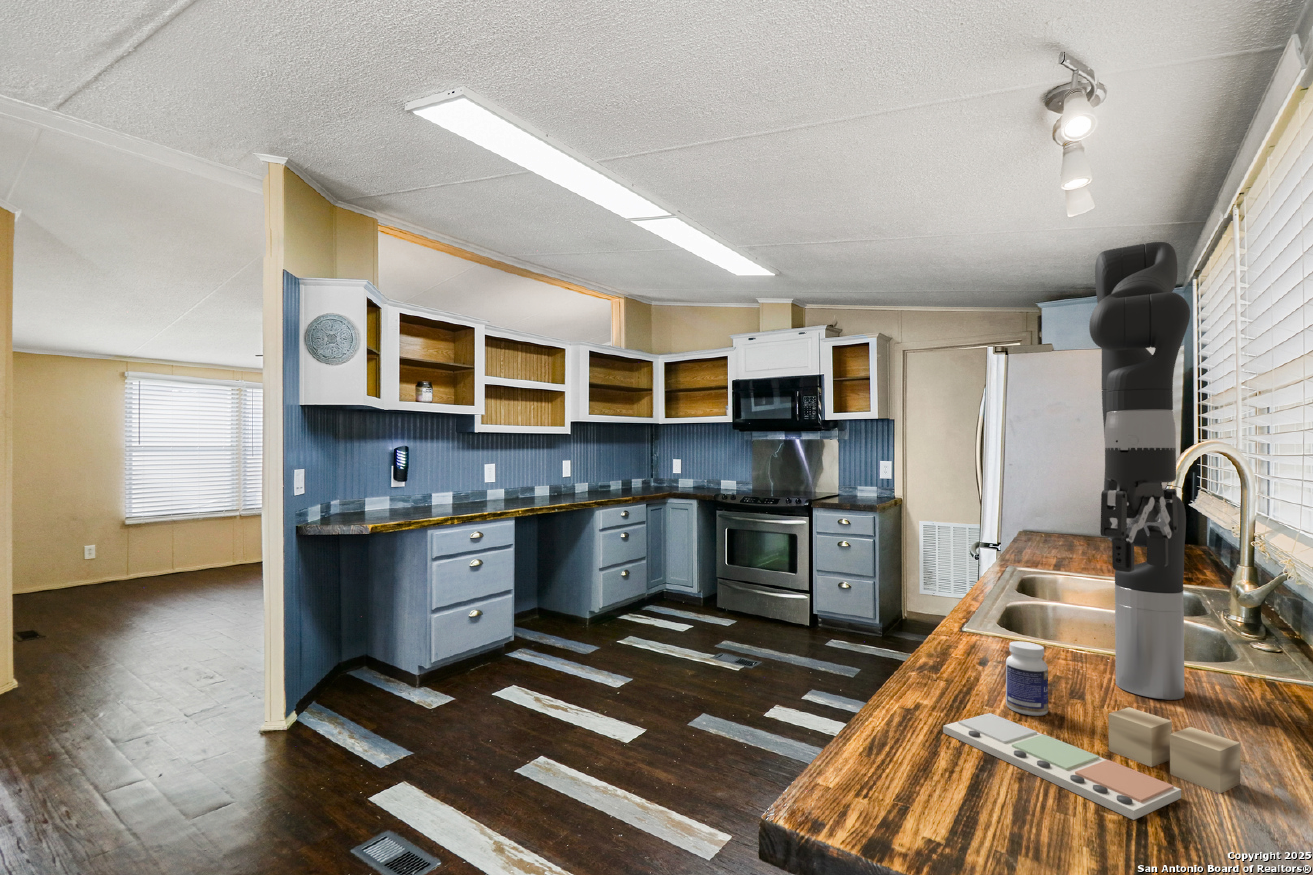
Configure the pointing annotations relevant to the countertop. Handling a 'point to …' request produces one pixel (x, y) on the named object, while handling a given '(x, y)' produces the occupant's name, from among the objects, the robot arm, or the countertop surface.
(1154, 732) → the maple block
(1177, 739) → the maple block
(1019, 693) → the pill bottle
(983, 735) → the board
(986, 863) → the countertop surface
